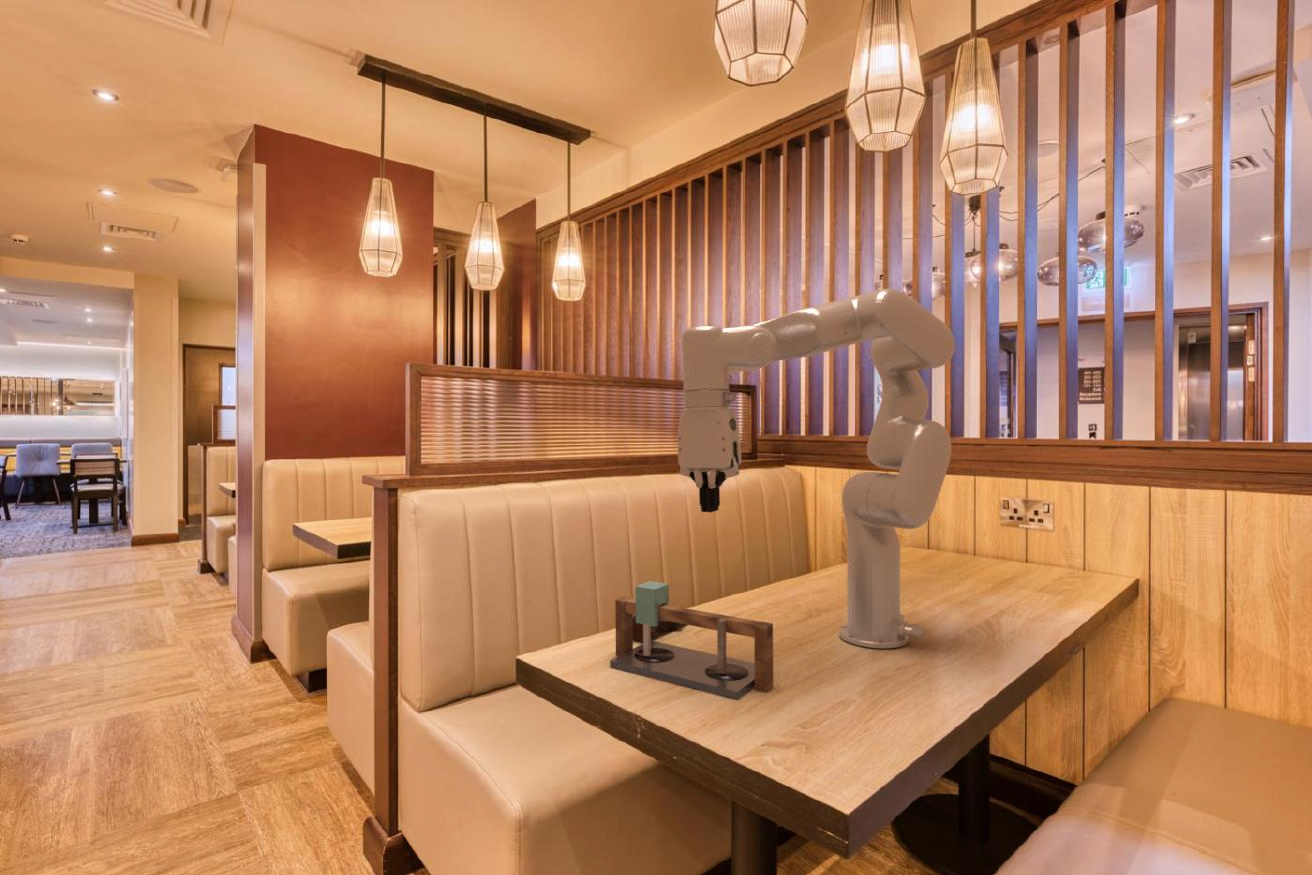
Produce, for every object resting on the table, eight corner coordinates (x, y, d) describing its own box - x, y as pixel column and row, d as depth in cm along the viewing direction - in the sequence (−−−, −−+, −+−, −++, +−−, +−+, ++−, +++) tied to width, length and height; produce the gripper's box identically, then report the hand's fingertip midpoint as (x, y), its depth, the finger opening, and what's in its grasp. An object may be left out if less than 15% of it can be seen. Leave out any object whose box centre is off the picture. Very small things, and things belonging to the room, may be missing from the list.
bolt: (687, 633, 134) (641, 651, 122) (670, 617, 137) (623, 633, 125) (699, 610, 133) (654, 626, 121) (681, 595, 135) (636, 609, 123)
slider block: (669, 650, 114) (668, 584, 113) (655, 658, 110) (654, 589, 110) (650, 646, 116) (649, 581, 116) (635, 653, 112) (635, 586, 112)
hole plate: (770, 673, 107) (770, 666, 107) (737, 699, 97) (737, 691, 97) (650, 646, 120) (650, 639, 120) (610, 667, 111) (610, 659, 111)
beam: (773, 687, 102) (772, 623, 101) (764, 694, 99) (764, 629, 99) (623, 651, 118) (623, 596, 118) (612, 657, 115) (612, 600, 115)
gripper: (757, 399, 108) (760, 510, 108) (680, 403, 116) (683, 506, 117) (736, 399, 102) (740, 517, 102) (656, 403, 110) (660, 511, 111)
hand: (709, 510), depth 110 cm, fingers closed
